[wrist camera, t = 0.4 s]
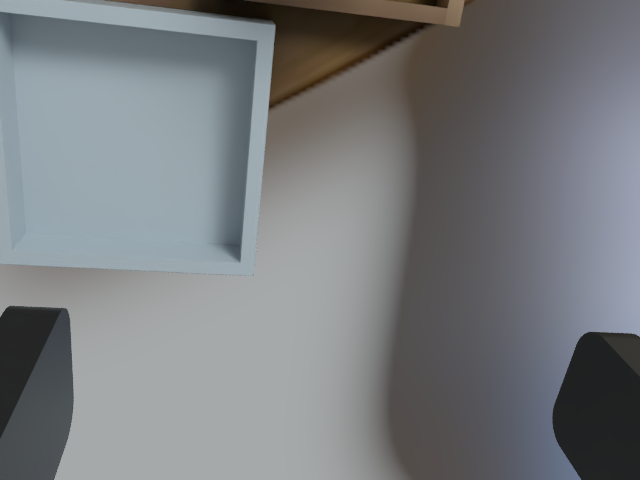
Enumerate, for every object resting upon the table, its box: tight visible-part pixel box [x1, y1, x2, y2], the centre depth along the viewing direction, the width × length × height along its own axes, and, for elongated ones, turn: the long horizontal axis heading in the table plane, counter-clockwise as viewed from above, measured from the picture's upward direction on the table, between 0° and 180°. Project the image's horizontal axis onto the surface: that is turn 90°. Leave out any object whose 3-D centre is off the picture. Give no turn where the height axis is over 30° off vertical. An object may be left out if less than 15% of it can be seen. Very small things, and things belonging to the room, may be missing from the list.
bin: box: [0, 0, 276, 276], centre depth 32 cm, size 14×14×3 cm
